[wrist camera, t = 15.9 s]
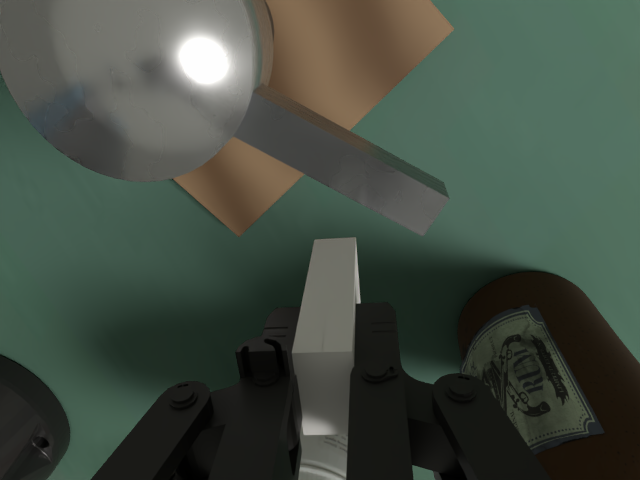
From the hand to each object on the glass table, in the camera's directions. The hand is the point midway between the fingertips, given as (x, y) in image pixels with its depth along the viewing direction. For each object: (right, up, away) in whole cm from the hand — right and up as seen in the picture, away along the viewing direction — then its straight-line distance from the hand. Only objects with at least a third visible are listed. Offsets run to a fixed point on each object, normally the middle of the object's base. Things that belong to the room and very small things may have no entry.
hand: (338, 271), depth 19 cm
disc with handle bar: (-8, +10, +2) cm, 13 cm away
